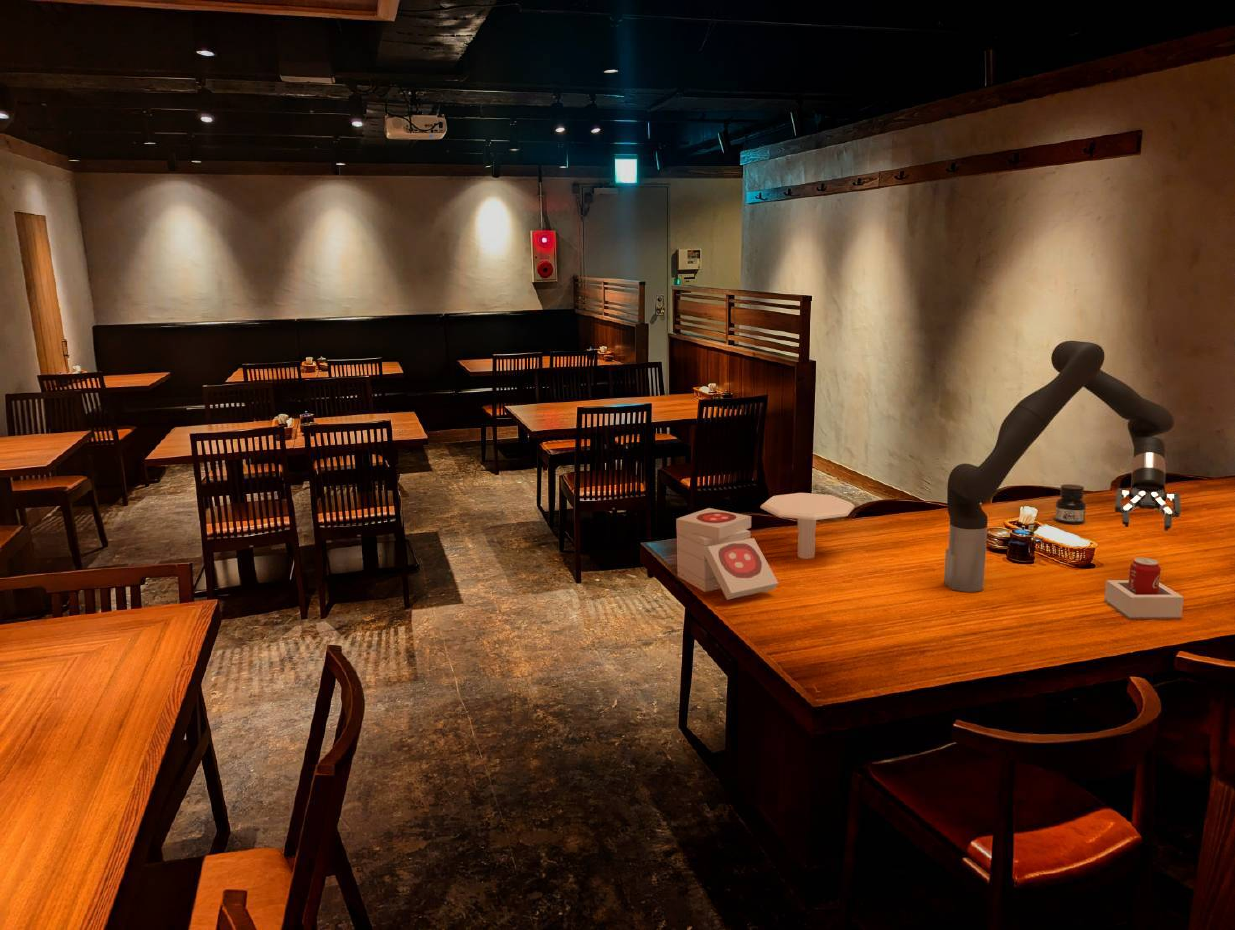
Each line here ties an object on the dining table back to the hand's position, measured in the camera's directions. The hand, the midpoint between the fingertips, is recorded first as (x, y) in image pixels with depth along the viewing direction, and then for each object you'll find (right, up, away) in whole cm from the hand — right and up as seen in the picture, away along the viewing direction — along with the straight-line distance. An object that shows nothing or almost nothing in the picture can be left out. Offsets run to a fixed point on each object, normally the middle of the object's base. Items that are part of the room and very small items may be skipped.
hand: (1146, 527), depth 215 cm
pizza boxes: (-105, -18, +20) cm, 108 cm away
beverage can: (-5, -20, -6) cm, 21 cm away
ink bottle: (+18, -3, +70) cm, 72 cm away
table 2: (-77, -12, +42) cm, 89 cm away
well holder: (-5, -20, -6) cm, 21 cm away
